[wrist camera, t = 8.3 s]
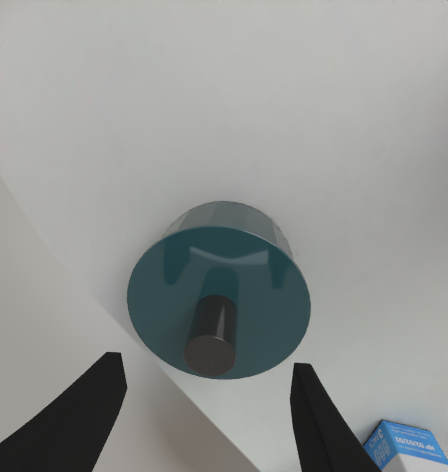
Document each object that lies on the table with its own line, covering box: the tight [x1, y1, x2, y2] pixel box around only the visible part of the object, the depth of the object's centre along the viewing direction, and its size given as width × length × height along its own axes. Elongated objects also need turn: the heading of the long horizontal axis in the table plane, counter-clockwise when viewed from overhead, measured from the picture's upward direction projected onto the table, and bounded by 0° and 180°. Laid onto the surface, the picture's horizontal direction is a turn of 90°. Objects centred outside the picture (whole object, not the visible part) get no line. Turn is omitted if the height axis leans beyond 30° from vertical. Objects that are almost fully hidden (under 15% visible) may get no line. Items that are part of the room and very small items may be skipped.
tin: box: [163, 201, 294, 260], centre depth 18 cm, size 10×10×5 cm
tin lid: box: [127, 223, 311, 379], centre depth 14 cm, size 10×10×4 cm
